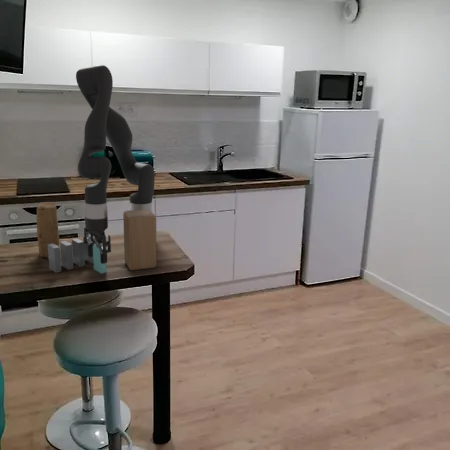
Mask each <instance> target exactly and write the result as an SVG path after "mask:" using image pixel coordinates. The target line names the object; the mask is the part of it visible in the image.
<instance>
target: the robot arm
mask: <svg viewBox="0 0 450 450" xmlns="http://www.w3.org/2000/svg"><path fill="white" fill-rule="evenodd" d="M75 74H76V75H75V80H76V83H77V86H78V88H79V90H80V92H81V94H82V95H83V97H84V99H85V100H86V102H87V103H88V105H89V106H90V107H89V108H91V111H90V114H89V115H88V117H87V119H86V120H85V121H86V122H85V125H84V132H83V134H84V139H83V140H84V141H83V148H82V152H81V156H80V157H79V160H78V163H77V172H78V173H79V176H80V177H82V178H84V179H100V180H99V181H98V182H97V183H91V184H88V185H86V186H85V188H84V228H83V237H84V243H85V244H87V246H88V256H89V257H93V245H96V246H97V248H99V250H100V261H101V263H102V264H104V263H106V264H107V263H108V253H111V252H112V248H111V247H112V245H111V242H112V241H111V236H110V235H106V232H105V231H106V230H107V229H109V221H108V220H109V218H108V216H109V214H108V204H107V189H108V188H107V187H108V181H109V178H110V175H111V171H112V163H111V161H110V159H109V158H108V157H107V156H92V155H94V154H96V153H100V152H103V151H105V150H106V148H107V140H108V142H109V144H110V145H111V147H112V150H113V152H114V154H115V156H116V159H117V160H118V163H119V165H120V169H121V170H122V173H123V177H124V178H125V180H126V182H128V183H129V184H131V185H133V186H137V192H133V193H131V194H130V195H129V211H131V210H146V209H148V210H150V211H151V212H152V213H153V198H154V194H155V178H156V177H155V170H154V168H153V166H152V165H151V164H148V163H144V162H143V163H141V162H138V161H137V160H136V158H135V157H134V154H133V153H132V145H133V133H132V130H131V128H130V126H129V123H128V121H127V120H126V119H125V117H124V116H123V115H122V114H121V113H119V111H117V110H115V109H114V108H112V106H111V105H110V104H111V99H112V92H113V81H114V80H113V76H112V73H111V70H110V68H108V67H107V66H106V65H104V64H98V65H93V66H88V67H82V68H80V69H78V70H77V71H76V73H75ZM87 237H88V239H87ZM102 247H103V250H102Z"/></svg>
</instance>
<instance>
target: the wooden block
mask: <svg viewBox="0 0 450 450" xmlns="http://www.w3.org/2000/svg"><path fill="white" fill-rule="evenodd" d="M122 217H123V248H124V249H123V250H124V251H123V253H124V256H123V257H124V262H125V264H126V266H127V267H128V269H129V271H138V270H145V269H153V268H154V269H155V268H156V267H157V216H156V215H155V214H154V213H153V211H152V212H151V211H150V210H148V209H146V210H131V211H130V210H125V211H124V212H123V215H122Z"/></svg>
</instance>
